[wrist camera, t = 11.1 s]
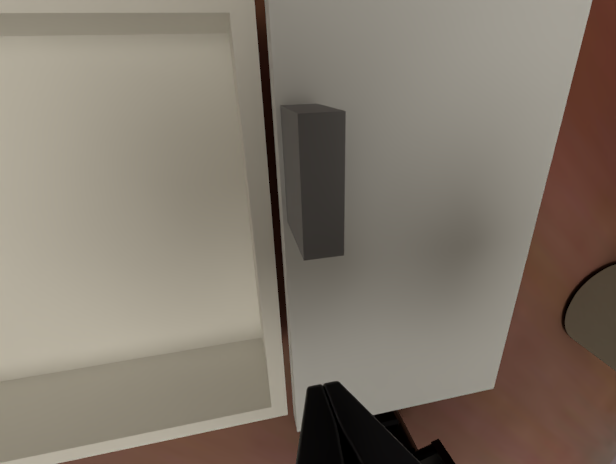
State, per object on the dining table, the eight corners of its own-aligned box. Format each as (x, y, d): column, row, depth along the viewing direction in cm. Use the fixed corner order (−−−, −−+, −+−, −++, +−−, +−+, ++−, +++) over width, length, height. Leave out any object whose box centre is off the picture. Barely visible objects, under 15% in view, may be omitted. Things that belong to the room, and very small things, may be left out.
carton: (273, 338, 24) (287, 414, 18) (-110, 404, 20) (-235, 524, 14) (244, 14, 16) (252, -18, 11) (-395, 16, 12) (-891, -34, 7)
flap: (481, 374, 20) (537, 439, 16) (293, 414, 18) (310, 497, 14) (569, -6, 13) (706, -40, 9) (263, -9, 11) (283, -54, 7)
